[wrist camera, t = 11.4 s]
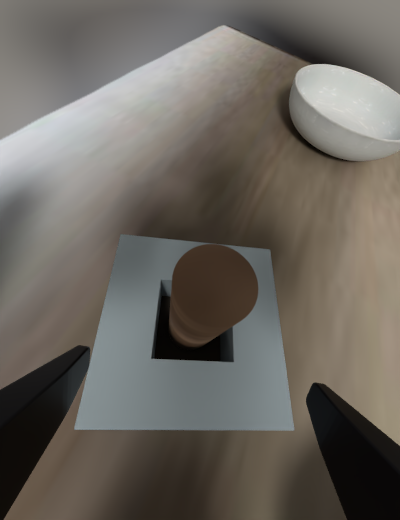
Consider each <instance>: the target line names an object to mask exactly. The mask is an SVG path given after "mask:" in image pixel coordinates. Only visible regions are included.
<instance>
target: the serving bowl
mask: <svg viewBox="0 0 400 520" xmlns="http://www.w3.org/2000/svg"><path fill="white" fill-rule="evenodd" d="M289 111H290V116H291V119H292V122H293V124H294V126H295V127H296V129H297V130H298V132H299V133H300V134H301V135H302V137H303V138H304V139H305V140H307V141H308V142H309V143H310V144H312V145H313V146H314V147H316V148H317V149H319V150H321V151H323V152H325V153H327V154H329V155H331V156H334V157H337V158H340V159H344V160H349V161H372V160H377V159H381V158H384V157H387V156H390V155H392V154H394V153H396V152H398V151H399V150H400V95H399V94H398V93H397V92H395V91H394V90H392V89H391V88H389V87H388V86H386V85H384V84H383V83H381V82H379V81H377V80H375V79H373V78H371V77H369V76H367V75H364V74H362V73H359V72H357V71H354V70H351V69H347V68H343V67H340V66H335V65H328V64H314V65H309V66H305V67H303V68H302V69H300V70H299V71H298V72H297V74H296V75H295V78H294V81H293V84H292V87H291V91H290V97H289Z"/></svg>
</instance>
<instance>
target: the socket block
mask: <svg viewBox="0 0 400 520" xmlns="http://www.w3.org/2000/svg"><path fill="white" fill-rule="evenodd" d="M205 244H212V243H202V242H192V241H183V240H173V239H163V238H153V237H143V236H134V235H124V234H121V235H120V239H119V243H118V248H117V252H116V256H115V260H114V264H113V269H112V273H111V277H110V281H109V285H108V290H107V294H106V298H105V302H104V306H103V310H102V315H101V319H100V323H99V327H98V331H97V336H96V340H95V344H94V348H93V352H92V357H91V361H90V365H89V369H88V373H87V378H86V382H85V386H84V390H83V394H82V399H81V403H80V407H79V411H78V415H77V419H76V424H75V428H74V430H293V431H294V424H293V416H292V409H291V401H290V394H289V387H288V379H287V372H286V364H285V357H284V350H283V342H282V335H281V327H280V320H279V312H278V305H277V298H276V290H275V283H274V275H273V268H272V261H271V253H270V249H261V248H251V247H241V246H232V245H223V246H226V247H229V248H231V249H233V250H235V251H237V252H238V253H240V254H241V255H242V256H243V257H244V258H245V259H246V260H247V261H248V262H249V263H250V265H251V266H252V268H253V270H254V272H255V274H256V277H257V281H258V298H257V301H256V304H255V306H254V308H253V310H252V311H251V312H250V314H249V315H248V316H247V317H246V318H244V319H243V320H242V321H240V322H239V323H237V324H236V325H234V326H232V327H231V328H229V329H228V330H226V331H225V332H223V333H222V334H220V362H217V361H192V360H168V359H154V357H155V348H156V340H157V331H158V323H159V314H160V305H161V297H162V296H171V286H172V275H173V271H174V268H175V266H176V264H177V262H178V260H179V259H180V258H181V257H182V256H183V255H184V254H185V253H186V252H187V251H189V250H191V249H192V248H194V247H197V246H200V245H205ZM218 245H222V244H218Z"/></svg>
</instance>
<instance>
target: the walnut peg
mask: <svg viewBox="0 0 400 520" xmlns="http://www.w3.org/2000/svg"><path fill="white" fill-rule="evenodd" d="M257 298H258V281H257V277H256V274H255V272H254V270H253V268H252V266H251V265H250V263H249V262H248V261H247V260H246V259H245V258H244V257H243V256H242V255H241V254H240V253H238V252H237V251H235V250H233V249H231V248H229V247H226V246H223V245H218V244H205V245H200V246H197V247H194V248H192V249H191V250H189V251H187V252H186V253H185V254H184V255H183V256H182V257H181V258H180V259H179V260H178V262H177V264H176V266H175V268H174V271H173V275H172V286H171V300H170V315H169V336H170V338H171V340H172V342H173V343H174V344H175V345H176V346H177V347H178V348H180V349H182V350H186V351H192V350H196V349H198V348H200V347H202V346H203V345H205V344H206V343H208V342H209V341H211V340H212V339H214V338H215V337H217V336H219V335H220V334H222V333H223V332H225V331H226V330H228V329H229V328H231V327H232V326H234V325H236V324H237V323H239V322H240V321H242V320H243V319H244V318H246V317H247V316H248V315H249V314H250V312H251V311H252V310H253V308H254V306H255V304H256V301H257Z"/></svg>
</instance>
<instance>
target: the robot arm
mask: <svg viewBox="0 0 400 520" xmlns="http://www.w3.org/2000/svg"><path fill="white" fill-rule="evenodd" d="M89 361H90V348H89V347H88V346H81V345H79V346H76V347H74V348H73V349H71V350H69V351H67V352H66V353H64V354H62V355H60V356H59V357H57V358H55V359H53V360H52V361H50V362H48V363H46V364H45V365H43V366H41V367H39V368H38V369H36V370H34V371H32V372H31V373H29V374H27V375H25V376H24V377H22V378H20V379H18V380H17V381H15V382H13V383H11V384H10V385H8V386H6V387H4V388H3V389H1V390H0V520H4V518H5V516H6V515H7V513H8V511H9V510H10V508H11V506H12V504H13V503H14V501H15V499H16V498H17V496H18V494H19V493H20V491H21V489H22V488H23V486H24V484H25V483H26V481H27V479H28V478H29V476H30V474H31V473H32V471H33V469H34V468H35V466H36V464H37V463H38V461H39V459H40V458H41V456H42V454H43V453H44V451H45V449H46V448H47V446H48V444H49V443H50V441H51V439H52V438H53V436H54V434H55V433H56V431H57V429H58V428H59V426H60V424H61V423H62V421H63V419H64V417H65V416H66V414H67V412H68V410H69V408H70V406H71V404H72V402H73V400H74V398H75V396H76V393H77V391H78V389H79V387H80V385H81V383H82V381H83V379H84V377H85V375H86V373H87V370H88V368H89ZM306 404H307V407H308V411H309V414H310V417H311V421H312V424H313V428H314V431H315V434H316V438H317V441H318V444H319V447H320V450H321V453H322V456H323V458H324V461H325V464H326V466H327V469H328V471H329V474H330V477H331V479H332V482H333V484H334V487H335V490H336V492H337V495H338V497H339V500H340V503H341V505H342V508H343V510H344V513H345V516H346V518H347V520H400V446H399V445H398V444H397V443H395V442H394V441H393V440H392V439H391V438H389V437H388V436H387V435H386V434H384V433H383V432H382V431H381V430H380V429H378V428H377V427H376V426H375V425H374V424H372V423H371V422H370V421H369V420H367V419H366V418H365V417H364V416H363V415H361V414H360V413H359V412H358V411H357V410H355V409H354V408H353V407H352V406H350V405H349V404H348V403H347V402H346V401H344V400H343V399H342V398H341V397H340V396H338V395H337V394H336V393H335V392H333V391H332V390H331V389H330V388H329V387H327V386H326V385H325V384H321V383H313V384H312V386H311V388H310V390H309V393H308V395H307V397H306Z"/></svg>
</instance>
